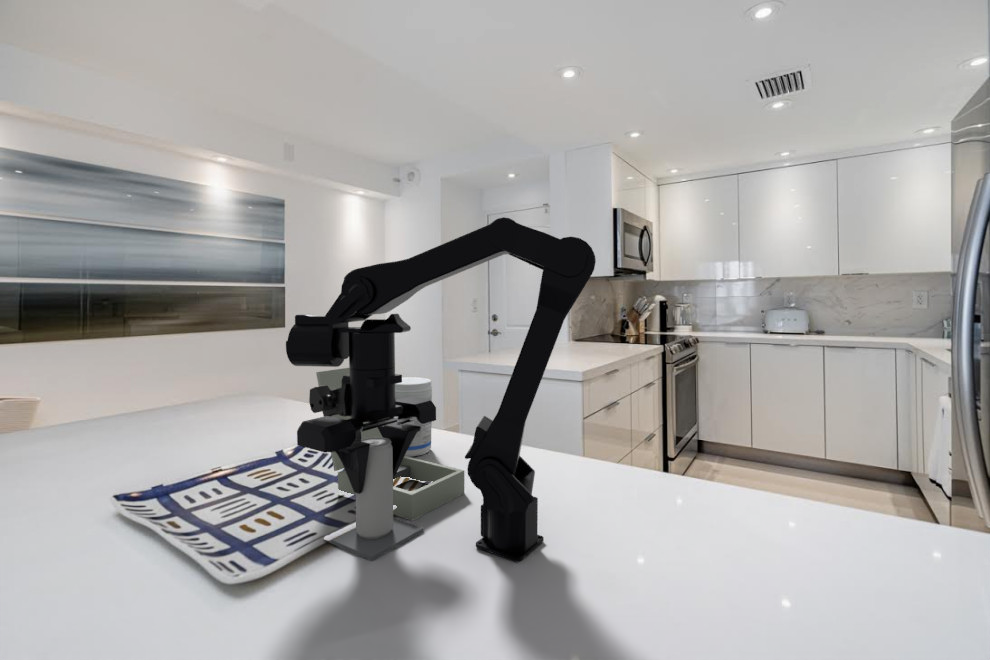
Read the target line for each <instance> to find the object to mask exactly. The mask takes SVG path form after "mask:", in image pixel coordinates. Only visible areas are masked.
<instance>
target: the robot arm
mask: <svg viewBox="0 0 990 660" xmlns="http://www.w3.org/2000/svg"><path fill="white" fill-rule="evenodd" d="M504 255H508V256H512V257H514V258H515V259H518V260H520V261H522V262H525V263H526V264H528V265H531V266H533V267H535V268H537V269H540V270H542V274H541V278H540V279H541V280H540V286H539V292H538V298H537V304H536V309H535V312H534V314H533V317H532V321H531V323H530V325H529V328H528V330H527V333H526V336H525V339H524V340H523V344H522V347H521V349H520V352H519V354H518V357H517V360H516V362H515V365H514V368H513V371H512V374H511V375H510V378H509V382H508V383H507V387H506V389H505V393H504V394H503V397H502V401H501V402H500V406H499V408H498V410H497V413H496V415H495V416H494V417H493V419H491V418H490V417H488V416H486V415H484V416H482V418H481V419H480V421H479V423H478V424H477V426H476V428H475V431H474V436H473V442H472V445H471V446H470V447H469V449H468V451H467V453H465V455H464V459H466V460H467V459H469V461H468V462H467V470H466V471H467V475H468V477H469V479H470V482H471V483H472V484H473V485H474V487H476V489H478V490H479V491H480V493H481V496H482V504H481V505H480V536H481V538H480V539H479V540H477V541H475V547H476V548H477V549H480V550H482V551H485V552H488V553H491V554H493V555H496V556H499V557H503V558H505V559H508V560H511V561H513V562H521V561H522V560H524V558H526V557H527V556H528V555H529V554H530V553H531V552H533V551H534V550H535V549H536V548H538V547H539V546H540V545H541V544H542V543H544V536H543V535H540V534H538V520H539V519H538V513H539V512H538V509H539V507H538V506H539V504H538V503H539V501H538V500H539V499H538V498H539V497H537V496H533V488H534V481H535V475H536V471H535V469H534V468H533V467H531V465H529V463H528V462H526V460H524V459H523V457H521V451H522V450H521V449H522V444H523V438H524V433H525V427H526V423H527V419H528V416H529V413H530V410H531V408H532V406H533V403H534V401H535V398H536V394H537V392H538V389H539V386H540V385H541V382H542V379H543V376H544V374H545V371H546V369H547V367H548V363H549V360H550V358H551V356H552V354H553V350H554V348H555V345H556V342H557V339H558V337H559V335H560V332H561V329H562V326H563V323H564V321H565V320H566V317H567V316H568V314H569V313H570V311H571V310H572V308H573V306H574V305H575V303H576V301H577V300H578V298H579V297H580V295H581V293H582V292H583V290H584V288H585V286H586V284H587V283H588V281H589V280H590V279H591V276H592V275H593V273H594V270H595V267H596V263H597V262H596V261H597V260H596V255H595V252H594V250H593V247H592V246H591V245H590V244H589V243H588V242H587V241H586V240H583V239H582V238H579V237H576V236H565V237H562V238H558V237H556V236H554V235H550V234H549V233H546V232H544V231H541V230H538V229H534V228H531V227H529V226H526V225H523V224H520V223H518V222H516V221H515V220H513V219H512V218H509V217H499V218H496V219H495V220H493V221H492V222H490V223H489V224H486V225H485V226H482V227H479V228H477V229H475V230H473V231H471V232H468V233H466V234H463V235H461V236H458V237H456V238H454V239H452V240H449V241H447V242H445V243H442V244H440V245H438V246H435V247H433V248H430V249H428V250H425V251H423V252H421V253H419V254H416V255H414V256H411V257H409V258H406V259H401V260H397V261H389V262H383V263H382V262H381V263H377V264H372V265H368V266H364V267H359V268H356V269H352V270H351V271H349V272H348V273H346V275H345V276H344V278H343V282H342V284H341V290H340V293H339V295H338V297H337V298H336V300H335V301H334V302H333V303H332V305H331V306H330V308H329V310H328V311H327V313H326V314H325V315H315V314H310V313H308V314H296V315H294V324H293V325H292V327H291V329H290V330H289V332H288V336H287V340H285V352H286V356H287V358H288V361H289V363H290V364H291V365H293V366H296V367H325V368H326V367H327V368H328V367H330V368H332V367H333V368H338V367H340V366H341V365H342V364H343V363H344V361H345V360H347V359H348V362H349V363H348V365H349V366H348V368H349V375H344V376H343V378H342V386H341V388H339V389H335V390H330V388H329V387H328V386H327V385H324V386H319V385H318V386H314V387H312V388H310V389H309V396H308V397H309V400H308V401H309V402H308V403H309V406H310V411H311V412H312V413H314V414H316V413H320V412H321V413H322V415H323V416H320V417H316V418H312V419H307V420H303V421H302V422H301V423H300V425H299V426H298V428H297V431H296V442H297V443H296V445H297V446H300V447H304V448H306V449H311V450H315V451H317V452H321V453H331V452H334V451H335V452H336V453H337V455H338V457H339V458H340V460H341V462H342V464H343V466H344V468H343V469H344V470H345V471H346V473H347V476H348V478H349V481H350V483H351V486H352V488H353V491H354V492H355V493H358V494H360V493H362V490H363V486H364V482H365V475H366V468H367V461H368V454H369V447H370V443H366V442H362V432H363V431H366V430H370V429H373V428H378V430H379V432H380V433H381V435H382V437H383V438H387V439H390V440H391V445H392V448H393V479H394V477H395V475H396V473H397V471H398V469H399V467H400V464H401V462H402V460H403V458H404V456H405V454H406V452H407V450H408V448H409V446H410V444H411V442H412V441H413V439H414V437H415V435H416V433H417V432H418V431H420V430H421V427H420V426H415V425H414V421H413V420H412V417H417V420H418V421H419V422H420V423H421V424H425V423H429V422H431V423H432V422H434V421H437V407H436V405H435V404H434V402H433V400H432V401H431V400H426V399H419V398H412V397H407V398H402V399H398V400H395V384H396V383H401V382H402V377H403V375H402V374H398V373H396V345H395V342H396V341H395V335H396V333H397V334H401V333H406V332H411V325H409V324H408V323H407V322H405V321H404V320H403V319H402V317H401V316H400V314H399V313H391V314H390V315H389V316H388V317H387V318H386V319H375V318H374V319H373V318H372V319H369V318H370V317H372V316H373V315H383V314H387V313H388V312H391V311H392V310H394V309H395V308H397V307H399V306H401V305H402V304H403V303H405V302H407V301H408V300H409V299H410V298H412V297H413V296H414V295H415V294H417V293H418V292H419V291H422V289H424V288H426V287H428V286H430V285H433V284H436V283H438V282H440V281H443V280H445V279H448V278H450V277H452V276H455V275H457V274H460V273H462V272H465V271H466V270H469V269H472V268H474V267H477V266H480V265H481V264H484V263H486V262H489V261H491V260H494V259H496V258H498V257H501V256H504ZM354 322H362V324H361V326H357V327H356V326H349V323H354ZM337 414H339V416H350V417H351V419H348V420H344V419H340V418H335V417H331V416H333V415H337ZM363 422H368V423H365V424H363Z"/></svg>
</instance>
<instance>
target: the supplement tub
mask: <svg viewBox="0 0 990 660" xmlns="http://www.w3.org/2000/svg"><path fill="white" fill-rule="evenodd" d="M432 388H433V386H432V380H431V379H429V378H425V377H419V376H417V377H415V376H408V377H407V376H405V377H404V376H402V382H401V383H396V384H395V400H398V399H402V398H407V397H412V398H419V399H426V400H431V401H432V402H433V389H432ZM412 420H413V421H414V425H415V426H420V427H421V430H420V431H418V432H417V433H416V435H415V437H414V439H413V441H412V442H411V444H410V446H409V448H408V450H407V452H406V454H405V456H408V457H412V458H414V457H419V456H422V455H425V454H426V453H428V452H430V450H431V449H432V422H429V423H425V424H421V423H420V422H419V421H418V420H417V417H412Z"/></svg>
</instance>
